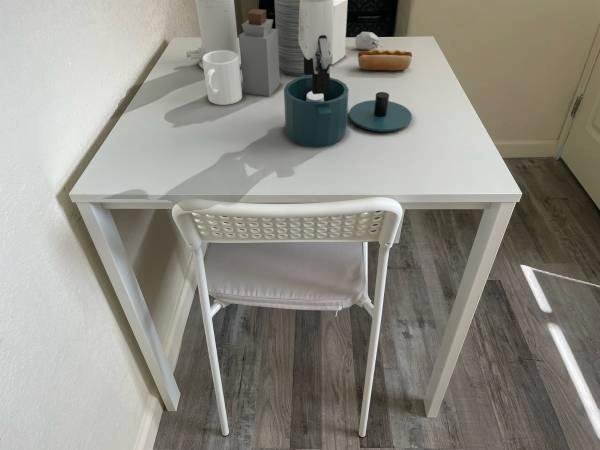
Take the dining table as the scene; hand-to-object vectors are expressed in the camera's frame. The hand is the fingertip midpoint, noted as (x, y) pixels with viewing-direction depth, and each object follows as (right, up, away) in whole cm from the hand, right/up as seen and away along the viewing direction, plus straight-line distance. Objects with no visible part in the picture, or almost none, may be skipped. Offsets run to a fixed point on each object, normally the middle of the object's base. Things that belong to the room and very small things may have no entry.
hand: (315, 82), depth 90 cm
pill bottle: (0, -8, +7) cm, 10 cm away
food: (+19, +13, +31) cm, 39 cm away
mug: (-22, +1, +18) cm, 28 cm away
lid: (+14, -4, +11) cm, 18 cm away
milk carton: (+4, +18, +37) cm, 42 cm away
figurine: (+17, +22, +42) cm, 50 cm away
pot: (0, -8, +7) cm, 11 cm away
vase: (-3, +13, +32) cm, 35 cm away
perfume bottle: (-13, +6, +23) cm, 27 cm away
